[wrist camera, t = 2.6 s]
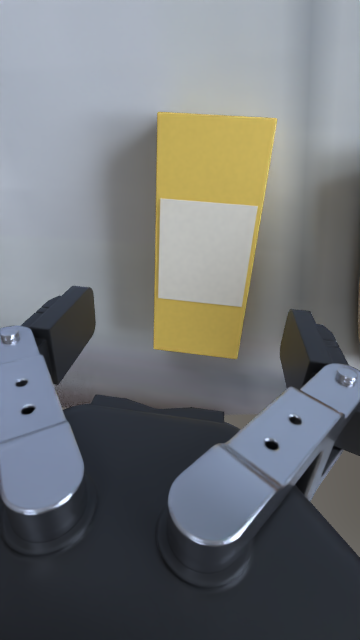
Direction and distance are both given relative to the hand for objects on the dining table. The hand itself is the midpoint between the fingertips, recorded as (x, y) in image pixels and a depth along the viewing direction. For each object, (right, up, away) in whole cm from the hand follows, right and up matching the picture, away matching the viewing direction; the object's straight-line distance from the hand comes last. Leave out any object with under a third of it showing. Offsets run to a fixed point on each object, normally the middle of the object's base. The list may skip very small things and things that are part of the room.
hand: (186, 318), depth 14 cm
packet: (+2, +6, +10) cm, 12 cm away
